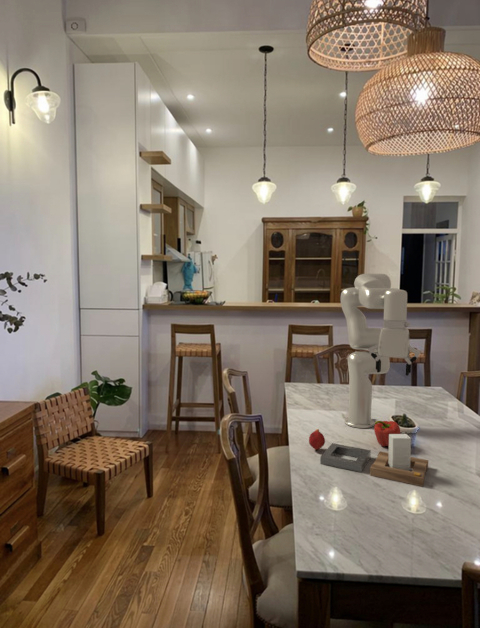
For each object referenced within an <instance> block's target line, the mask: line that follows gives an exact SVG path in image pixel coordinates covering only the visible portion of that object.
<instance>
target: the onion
mask: <svg viewBox="0 0 480 628" xmlns="http://www.w3.org/2000/svg"><path fill="white" fill-rule="evenodd" d="M308 443H309V445H310V446H311V447H312V449H314V450H316V451H318V450H320V449H321V448H322V447H324V445H325V443H326V438H325V436H324V435H323V433H322V432H320V429H319V428H316V429H315V430H314V431H313V432H311V433H310V434H309V437H308Z"/></svg>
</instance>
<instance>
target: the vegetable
mask: <svg viewBox="0 0 480 628" xmlns="http://www.w3.org/2000/svg"><path fill="white" fill-rule="evenodd" d="M374 422H375V425H374V426H373V428H374V435H375V437H376V441H377V442H378V444H379V445H380V446H382V447H388V448H389V434H402V433H401V432H402V431H401V428H400V425H399V424H398V423H397V422H396V421H393V420H391V421H389V420H388V421H387V420H383V421H382V420H377V421H374Z"/></svg>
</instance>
